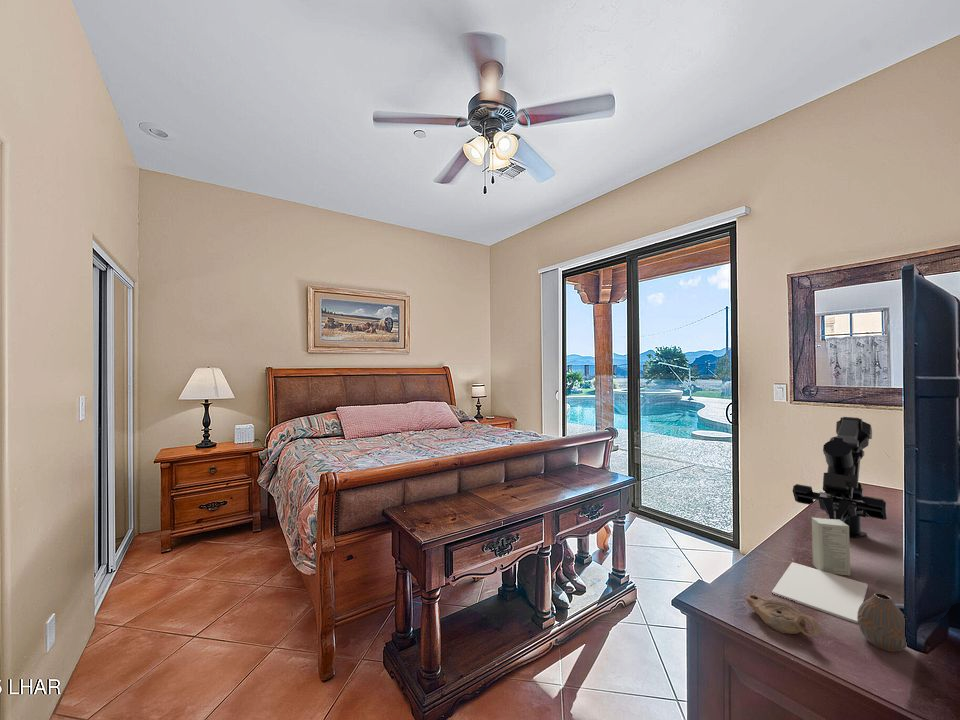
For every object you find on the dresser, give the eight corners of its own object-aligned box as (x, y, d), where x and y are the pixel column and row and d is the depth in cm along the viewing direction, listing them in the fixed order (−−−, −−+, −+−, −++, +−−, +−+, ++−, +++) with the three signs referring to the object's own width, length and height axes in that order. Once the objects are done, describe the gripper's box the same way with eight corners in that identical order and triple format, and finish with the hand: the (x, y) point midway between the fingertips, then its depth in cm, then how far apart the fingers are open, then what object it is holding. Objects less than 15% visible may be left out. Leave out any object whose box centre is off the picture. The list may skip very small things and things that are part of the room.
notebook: (792, 564, 103) (792, 562, 103) (867, 586, 93) (867, 584, 93) (771, 593, 90) (771, 591, 90) (857, 623, 80) (857, 621, 80)
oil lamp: (737, 610, 84) (737, 586, 84) (765, 604, 86) (765, 581, 86) (801, 653, 72) (801, 625, 72) (833, 646, 73) (832, 618, 73)
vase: (922, 660, 70) (921, 609, 70) (875, 655, 71) (874, 604, 71) (890, 634, 76) (890, 587, 77) (848, 629, 78) (847, 583, 78)
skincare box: (841, 568, 101) (841, 519, 102) (851, 576, 97) (850, 526, 97) (811, 564, 103) (810, 516, 104) (819, 572, 99) (818, 522, 99)
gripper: (793, 455, 116) (784, 502, 109) (885, 467, 102) (882, 522, 95) (799, 478, 121) (791, 524, 114) (888, 493, 107) (885, 546, 100)
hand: (834, 528), depth 105 cm, fingers closed
